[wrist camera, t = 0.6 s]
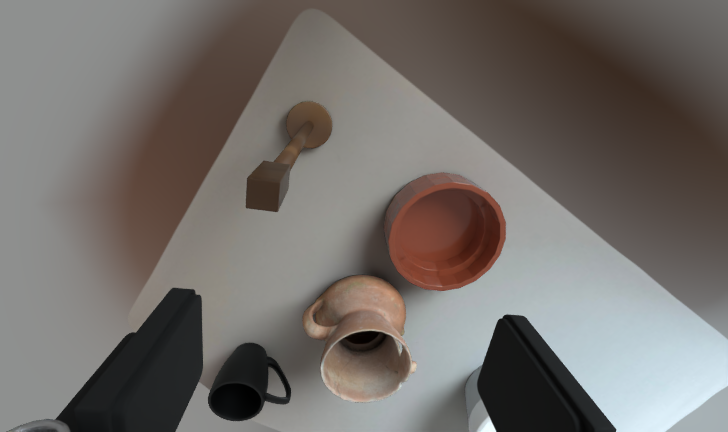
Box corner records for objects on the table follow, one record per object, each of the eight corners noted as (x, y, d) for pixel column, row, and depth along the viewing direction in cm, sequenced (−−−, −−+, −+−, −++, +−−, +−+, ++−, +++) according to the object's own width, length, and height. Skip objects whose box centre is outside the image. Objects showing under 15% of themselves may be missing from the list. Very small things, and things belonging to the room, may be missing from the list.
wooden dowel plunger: (289, 97, 45) (199, 124, 15) (334, 105, 46) (331, 144, 16) (286, 142, 47) (199, 242, 18) (329, 149, 48) (316, 255, 18)
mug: (291, 378, 63) (284, 427, 54) (224, 369, 61) (205, 418, 52) (299, 343, 60) (293, 388, 51) (229, 333, 58) (210, 377, 49)
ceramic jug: (424, 292, 58) (450, 353, 45) (379, 352, 62) (391, 425, 49) (330, 246, 54) (328, 299, 40) (289, 314, 58) (275, 383, 44)
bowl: (437, 414, 69) (455, 470, 59) (473, 339, 62) (499, 388, 52) (522, 426, 72) (552, 481, 62) (564, 356, 66) (605, 405, 56)
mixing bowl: (395, 164, 50) (402, 174, 44) (501, 180, 52) (521, 192, 46) (374, 264, 55) (379, 284, 50) (471, 275, 57) (486, 295, 52)
